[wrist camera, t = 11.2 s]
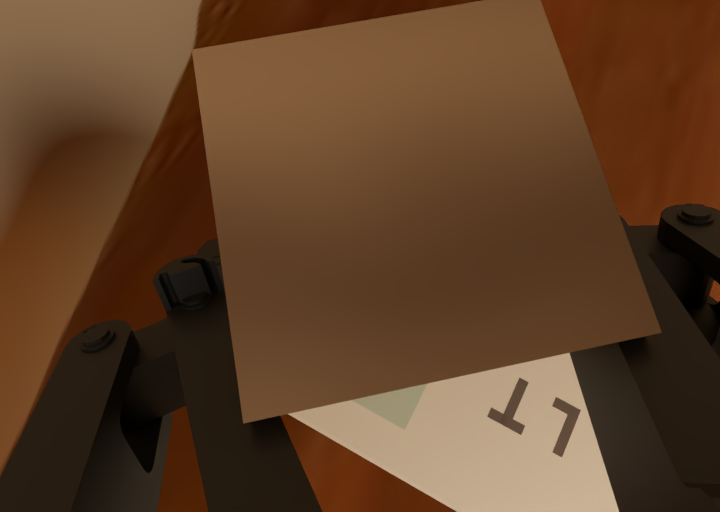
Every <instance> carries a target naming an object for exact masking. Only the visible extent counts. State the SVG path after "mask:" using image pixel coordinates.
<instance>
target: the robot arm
mask: <svg viewBox="0 0 720 512" xmlns="http://www.w3.org/2000/svg"><path fill="white" fill-rule="evenodd" d="M619 216H620V215H619ZM620 219H621V222H622V225H623V227H624V230H625V233H626V236H627V238H628V241H629V244H630V247H631V249H632V252H633V255H634V258H635V260H636V263H637V266H638V269H639V271H640V274H641V277H642V280H643V282H644V285H645V288H646V290H647V293H648V296H649V299H650V301H651V304H652V307H653V310H654V312H655V315H656V318H657V321H658V323H659V326H660V329H661V332H662V333H658V334H653V335H649V336H644V337H640V338H635V339H630V340H626V341H621V342H617V343H612V344H607V345H603V346H598V347H594V348H589V349H584V350H580V351H575V352H570V356H571V359H572V363H573V366H574V369H575V372H576V375H577V379H578V382H579V385H580V388H581V391H582V394H583V398H584V401H585V404H586V407H587V410H588V414H589V417H590V420H591V423H592V426H593V430H594V433H595V436H596V439H597V442H598V446H599V449H600V452H601V455H602V458H603V462H604V465H605V468H606V471H607V474H608V478H609V481H610V484H611V487H612V490H613V494H614V497H615V500H616V503H617V506H618V510H619V512H720V301H719V302H717V301H716V300H714V299H713V298H712V297H711V296H709V294H710V291H711V288H712V284H713V281H714V280H715V281H716V282H718V283H719V284H720V211H719V210H717V209H714V208H710V207H706V206H704V205H701V204H695V205H694V204H685V205H675V206H671V207H668V208H666V209H664V210H663V211H662V212H661V217H660V222H659V225H651V226H628V224H627V223H626V221H625V220H624V219H623V218H622V217H621V216H620ZM153 283H154V285H155V287H156V290H157V292H158V294H159V296H160V299H161V301H162V303H163V305H164V308H165V310H166V312H167V318H165V319H163V320H162V321H160V322H157V323H155V324H153V325H151V326H148V327H146V328H143V329H140V330H138V331H135V332H133V331H132V329H131V327H130V325H129V324H127V323H126V322H125V321H120V320H112V321H105V322H102V323H99V324H94V325H92V326H90V327H89V328H86V329H84V330H83V331H81V332H80V333H79V334H78V335H77V336H75V337H74V338H73V339H72V340H71V341H70V342H69V343H68V345H67V346H66V347H65V349H64V351H63V353H62V355H61V357H60V359H59V361H58V363H57V365H56V367H55V369H54V371H53V373H52V375H51V377H50V379H49V381H48V383H47V385H46V387H45V389H44V391H43V393H42V395H41V397H40V399H39V401H38V403H37V405H36V407H35V409H34V411H33V413H32V415H31V417H30V419H29V421H28V423H27V425H26V427H25V429H24V431H23V433H22V435H21V437H20V439H19V441H18V443H17V445H16V447H15V449H14V451H13V453H12V455H11V457H10V459H9V461H8V463H7V465H6V467H5V469H4V471H3V473H2V475H1V477H0V512H157V508H158V502H159V496H160V490H161V484H162V478H163V472H164V465H165V459H166V453H167V447H168V441H169V435H170V429H171V423H172V417H173V415H172V411H175V410H177V409H179V408H181V407H183V406H185V405H186V407H187V411H188V416H189V421H190V426H191V430H192V435H193V440H194V445H195V449H196V454H197V459H198V463H199V468H200V473H201V478H202V482H203V487H204V492H205V496H206V501H207V506H208V511H209V512H322V510H321V508H320V505H319V503H318V501H317V499H316V496H315V494H314V492H313V490H312V487H311V485H310V483H309V481H308V478H307V476H306V474H305V471H304V469H303V467H302V465H301V462H300V460H299V458H298V456H297V453H296V451H295V449H294V446H293V444H292V442H291V440H290V437H289V435H288V433H287V431H286V428H285V426H284V424H283V422H282V419H281V417H280V416H276V417H271V418H266V419H262V420H257V421H253V422H248V423H243V418H242V411H241V403H240V396H239V389H238V381H237V374H236V367H235V360H234V352H233V345H232V338H231V331H230V323H229V316H228V309H227V301H226V294H225V287H224V280H223V272H222V265H221V258H220V251H219V243H218V239H213V240H208V241H207V242H206V243H205V244H204V245H203V246H202V247H201V248H200V249H199V250H198V253H197V255H190V256H186V257H182V258H179V259H176V260H174V261H172V262H169V263H168V264H166V265H165V266H163V267H162V268H160V269H159V270H158V271H157V273H156V274H155V275H154V278H153Z"/></svg>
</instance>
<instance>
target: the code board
mask: <svg viewBox="0 0 720 512" xmlns="http://www.w3.org/2000/svg"><path fill="white" fill-rule="evenodd" d="M289 415H290V416H292V417H294V418H296V419H297V420H299V421H301V422H303V423H304V424H306V425H308V426H310V427H311V428H313V429H315V430H316V431H318V432H320V433H322V434H323V435H325V436H327V437H329V438H330V439H332V440H334V441H336V442H337V443H339V444H341V445H342V446H344V447H346V448H348V449H349V450H351V451H353V452H355V453H356V454H358V455H360V456H362V457H363V458H365V459H367V460H368V461H370V462H372V463H374V464H375V465H377V466H379V467H381V468H382V469H384V470H386V471H388V472H389V473H391V474H393V475H394V476H396V477H398V478H400V479H401V480H403V481H405V482H407V483H408V484H410V485H412V486H413V487H415V488H417V489H419V490H420V491H422V492H424V493H426V494H427V495H429V496H431V497H433V498H434V499H436V500H438V501H439V502H441V503H443V504H445V505H446V506H448V507H450V508H452V509H453V510H455V511H457V512H619V510H618V506H617V503H616V500H615V497H614V494H613V490H612V487H611V484H610V481H609V478H608V474H607V471H606V468H605V465H604V462H603V458H602V455H601V452H600V449H599V446H598V442H597V439H596V436H595V433H594V430H593V426H592V423H591V420H590V417H589V414H588V410H587V407H586V404H585V401H584V398H583V394H582V391H581V388H580V385H579V382H578V379H577V375H576V372H575V369H574V366H573V363H572V359H571V356H570V353H566V354H561V355H557V356H552V357H547V358H543V359H538V360H534V361H529V362H524V363H520V364H515V365H511V366H506V367H501V368H497V369H492V370H488V371H483V372H478V373H474V374H469V375H465V376H460V377H455V378H451V379H446V380H441V381H437V382H432V383H428V384H423V385H418V386H414V387H409V388H405V389H400V390H395V391H391V392H386V393H382V394H377V395H372V396H368V397H363V398H359V399H354V400H349V401H345V402H340V403H336V404H331V405H326V406H322V407H317V408H313V409H308V410H303V411H299V412H294V413H289Z"/></svg>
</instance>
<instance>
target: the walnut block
mask: <svg viewBox="0 0 720 512" xmlns="http://www.w3.org/2000/svg"><path fill="white" fill-rule="evenodd" d="M192 54H193V61H194V69H195V76H196V83H197V91H198V98H199V105H200V112H201V120H202V127H203V134H204V141H205V149H206V156H207V163H208V171H209V178H210V185H211V192H212V200H213V207H214V214H215V221H216V229H217V236H218V243H219V251H220V258H221V265H222V272H223V280H224V287H225V294H226V301H227V309H228V316H229V323H230V331H231V338H232V345H233V352H234V360H235V367H236V374H237V381H238V389H239V396H240V403H241V411H242V418H243V423H248V422H253V421H257V420H262V419H266V418H271V417H276V416H280V415H285V414H289V413H294V412H299V411H303V410H308V409H313V408H317V407H322V406H326V405H331V404H336V403H340V402H345V401H349V400H354V399H359V398H363V397H368V396H372V395H377V394H382V393H386V392H391V391H395V390H400V389H405V388H409V387H414V386H418V385H423V384H428V383H432V382H437V381H441V380H446V379H451V378H455V377H460V376H465V375H469V374H474V373H478V372H483V371H488V370H492V369H497V368H501V367H506V366H511V365H515V364H520V363H524V362H529V361H534V360H538V359H543V358H547V357H552V356H557V355H561V354H566V353H570V352H575V351H580V350H584V349H589V348H594V347H598V346H603V345H607V344H612V343H617V342H621V341H626V340H630V339H635V338H640V337H644V336H649V335H653V334H658V333H662V332H661V329H660V326H659V323H658V321H657V318H656V315H655V312H654V310H653V307H652V304H651V301H650V299H649V296H648V293H647V290H646V288H645V285H644V282H643V280H642V277H641V274H640V271H639V269H638V266H637V263H636V260H635V258H634V255H633V252H632V249H631V247H630V244H629V241H628V238H627V236H626V233H625V230H624V227H623V225H622V222H621V219H620V216H619V214H618V211H617V208H616V206H615V203H614V200H613V197H612V195H611V192H610V189H609V186H608V184H607V181H606V178H605V175H604V173H603V170H602V167H601V164H600V162H599V159H598V156H597V153H596V151H595V148H594V145H593V142H592V140H591V137H590V134H589V131H588V129H587V126H586V123H585V121H584V118H583V115H582V112H581V110H580V107H579V104H578V101H577V99H576V96H575V93H574V90H573V88H572V85H571V82H570V79H569V77H568V74H567V71H566V68H565V66H564V63H563V60H562V57H561V55H560V52H559V49H558V47H557V44H556V41H555V38H554V36H553V33H552V30H551V27H550V25H549V22H548V19H547V16H546V14H545V11H544V8H543V5H542V3H541V0H483V1H477V2H471V3H465V4H459V5H453V6H447V7H441V8H436V9H430V10H424V11H418V12H412V13H406V14H400V15H394V16H388V17H382V18H376V19H371V20H365V21H359V22H353V23H347V24H341V25H335V26H329V27H323V28H317V29H311V30H306V31H300V32H294V33H288V34H282V35H276V36H270V37H264V38H258V39H252V40H246V41H241V42H235V43H229V44H223V45H217V46H211V47H205V48H199V49H193V50H192Z"/></svg>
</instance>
